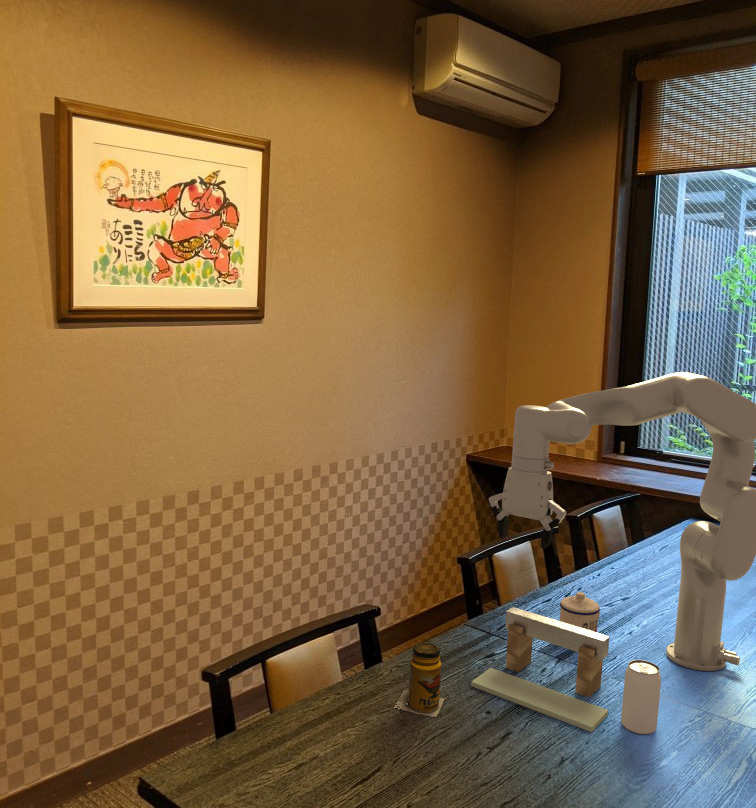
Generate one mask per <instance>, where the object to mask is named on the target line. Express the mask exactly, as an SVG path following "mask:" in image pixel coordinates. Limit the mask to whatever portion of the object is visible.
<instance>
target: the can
mask: <svg viewBox="0 0 756 808" xmlns="http://www.w3.org/2000/svg"><path fill="white" fill-rule="evenodd" d="M660 670H661V669H660V667H659V666H658V665H657V664H655V663H653V662H652V661H648V660H644V659H634V660H631V661H629V662H628V663H627V668H626V669H625V671H624V672H625V673H624V680H623V681H624V683H623V694H622V705H621V717H620V718H621V719H620V723H621V724H622V726H623V728H625V729H626V730H627V731H629V732H630V733H633V734H637V735H643V736H644V735H651V734H653V733H654V732H655V731H656V730H657V727H658V718H659V709H660V697H661V689H662V688H661V687H662V675H661V673H660Z"/></svg>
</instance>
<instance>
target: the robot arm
mask: <svg viewBox="0 0 756 808" xmlns="http://www.w3.org/2000/svg"><path fill="white" fill-rule="evenodd" d="M682 413H684V414H687V415H690V416H693V417H695V418H696V419H699V420H700V423H701V424H702V426H703V427H704V428H705V429H706V430H707V433H708V434H709V436H710V438H711V441H712V456H711V460H710V463H709V467H708V470H707V473H706V475H705V476H706V477H705V480H704V482H703V486H702V489H701V493H700V495H699V505H700V508H701V509H702V510H703V512H704V513H706V514H707V515H708V516H710V517H711V518H713V519H715V520H716V521H718V522H719V525H717V524H715V523H713V522H710V521H705V520H698V521H695V522H692V523H690V524H688V525H686V527H685V528H684V529H683V531H682V533H681V535H680V539H679V553H680V555H679V556H680V582H679V583H680V585H679V591H678V601H677V612H676V621H675V622H676V623H675V633H674V642H673V643H670V644H668V645H667V646H666V651H665V653H666V655H667V656H666V657H668V658H669V660H671V661H672V662H674V663H675V664H677V665H680V667H681V666H682V667H684V668H688V669H692V670H694V671H695V670H697V671H703V672H714V671H719V670H722V669H723V668H725V667H726V664H727V663H729V664H731V665H734V666H739V665H740V662H741V657H740V656H738V654H737V652H736V651H731V650H728V649H727V648H726V647H725V646H724V645H725V642H724V641H722V640H721V639H722V630H723V623H724V622H723V621H724V614H725V613H724V611H725V603H726V596H727V595H726V594H727V581H729V582H730V581H731V582H732V581H737V580H740V579H741V578H742V577H745V576H746V574H748V572H749V571H750V569H751V568H752V566H753V563H754V561H755V559H756V488H754V487H752V486H750V480H751V476H752V472H753V468H754V465H755V462H756V460H755V459H756V446H755V442H754V440H756V403H755V402H754V401H752V400H751V399H748V398H746V397H744V395H743V396H742V395H741V394H740V393H737V391H734V390H731V389H730V388H728V387H727V386H725V385H724V384H722V383H720V382H718V381H716V380H715V379H712V378H710V377H708V376H706V375H701V374H696V373H692V372H687V371H680V372H679V371H677V372H673V373H670V374H666V375H662V376H659V377H656V378H652V379H649V380H645V381H642V382H638V383H634V384H631V385H627V386H622V387H615V388H614V387H613V388H610V389H604V390H598V391H597V390H596V391H592V392H587V393H586V392H585V393H581V394H578V395H574V396H570V397H567V398H562V399H559V400H557V401H553V402H552V403H549V404H548V405H547V406H546V407H545V406H541V405H535V404H534V405H532V404H531V405H530V404H527V405H519V406H518V407H517V408H516V409H515V413H514V414H515V415H514V426H513V427H514V428H513V439H512V440H513V441H512V455H511V466H510V467H508V470H507V473H506V478H505V481H504V485H503V492H501V493H498V494H495V495H492V496H490V497H489V498H488V502H489V503H490V507H491V510H492V511H491V512H492V513H494V515H495V517H496V520H497V521H498V524H497V533H498V538H499V539H500V540H502V539H505V538H506V537H508V536H509V523H510V522H509V521H510V520H509V518H508V516H509V515H512V516H517V517H521V518H527V519H531V520H537V521H539V522H540V523H541V525H542V526H543V529H542V531H541V541H540V547H541V549H543V550H545V549H546V548H548V547H549V546H550V545H551V544H552V542H553V529H554V528H555V527H557V526H558V525H559V524H561V523H562V521H563V520H564V518H565V517H566V515H567V510H565V509H563V508H562V507H561V506H560V505H559V504H557V503H556V502H555V501H554V487H553V486H554V485H553V477H552V476H553V474H552V472H551V471H550V470H552V469H554V468H555V463H554V462H552V461H550V457H549V455H550V442H555V443H560V444H567V445H577V444H580V443H582V442H585V441H587V439H588V438H589V437H590V435H591V432H592V430H593V429H592V428H593V426H599V425H614V426H628V427H629V426H638V425H641V424H645V423H649V422H652V421H655V420H659V419H662V418H665V417H670V416H674V415H677V414H682ZM548 470H549V471H548ZM500 500H501V506H500V505H499V502H498V501H500ZM553 512H554V513H555V514H556V516H555V518H554V519H552V517H551V516H552V514H553ZM724 647H725V648H724Z"/></svg>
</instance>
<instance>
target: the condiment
mask: <svg viewBox="0 0 756 808" xmlns="http://www.w3.org/2000/svg"><path fill="white" fill-rule="evenodd" d="M440 655H441V649H440V647H438V645H436V644H434V643H430V642H420V643H417V644H415V645H414V646H413V648H412V656H411V659H410V663H409V667H410V668H409V683H408V687H409V688H408V690H406V689H405V690H404V689H403V691H402V694H401V695H400V697H399V698H398V701H396V704H400V705H396V704H395V705H394V707H393V709H395V708H398V707H397V706H400V708H398V709H397V710H399V711H404V712H410V713H413V714H418V715H422V716H426V717H433V718H437V716H438V714H439V712H440V710H441V709H442V706H443V703H444V701H445V697H444V698H443V697H440V694H441V691H440V690H441V678H442V677H441V675H442V662H441V656H440ZM400 698H401V699H400ZM408 699H409V700H408ZM399 700H401V701H399ZM403 703H408V706H409V707H410V708H411V709H412V710H411V711H408V710H410V709H406V708H405V707H406V706H407V705H406V706H404V707H402V706H403V705H404V704H403ZM408 706H407V707H408ZM400 709H402V710H400ZM395 710H396V709H395Z"/></svg>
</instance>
